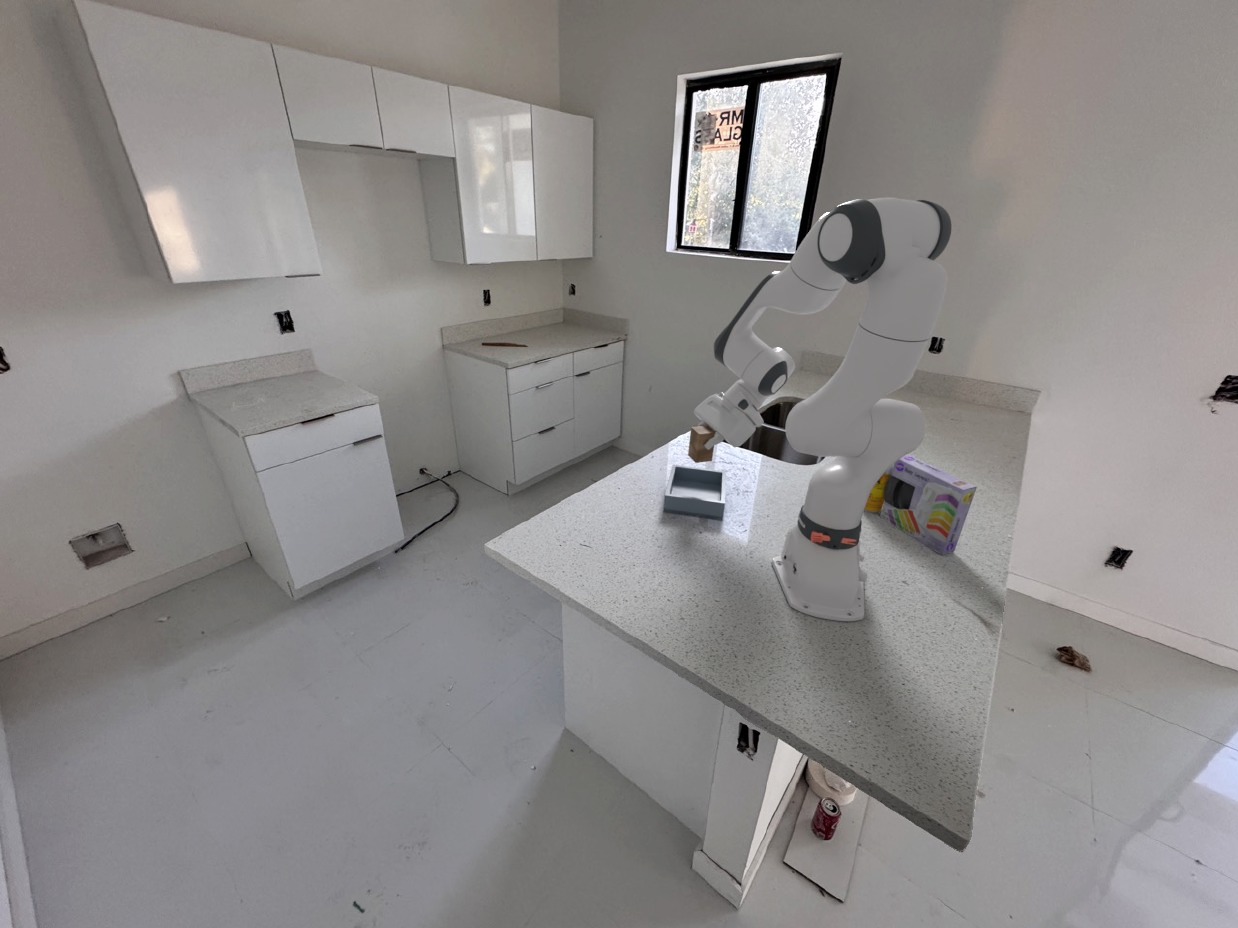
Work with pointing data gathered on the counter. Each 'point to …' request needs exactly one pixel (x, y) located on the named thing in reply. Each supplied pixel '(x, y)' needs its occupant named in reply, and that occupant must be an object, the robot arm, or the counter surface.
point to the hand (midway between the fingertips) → (699, 442)
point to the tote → (696, 492)
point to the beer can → (878, 493)
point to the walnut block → (700, 444)
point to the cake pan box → (927, 503)
